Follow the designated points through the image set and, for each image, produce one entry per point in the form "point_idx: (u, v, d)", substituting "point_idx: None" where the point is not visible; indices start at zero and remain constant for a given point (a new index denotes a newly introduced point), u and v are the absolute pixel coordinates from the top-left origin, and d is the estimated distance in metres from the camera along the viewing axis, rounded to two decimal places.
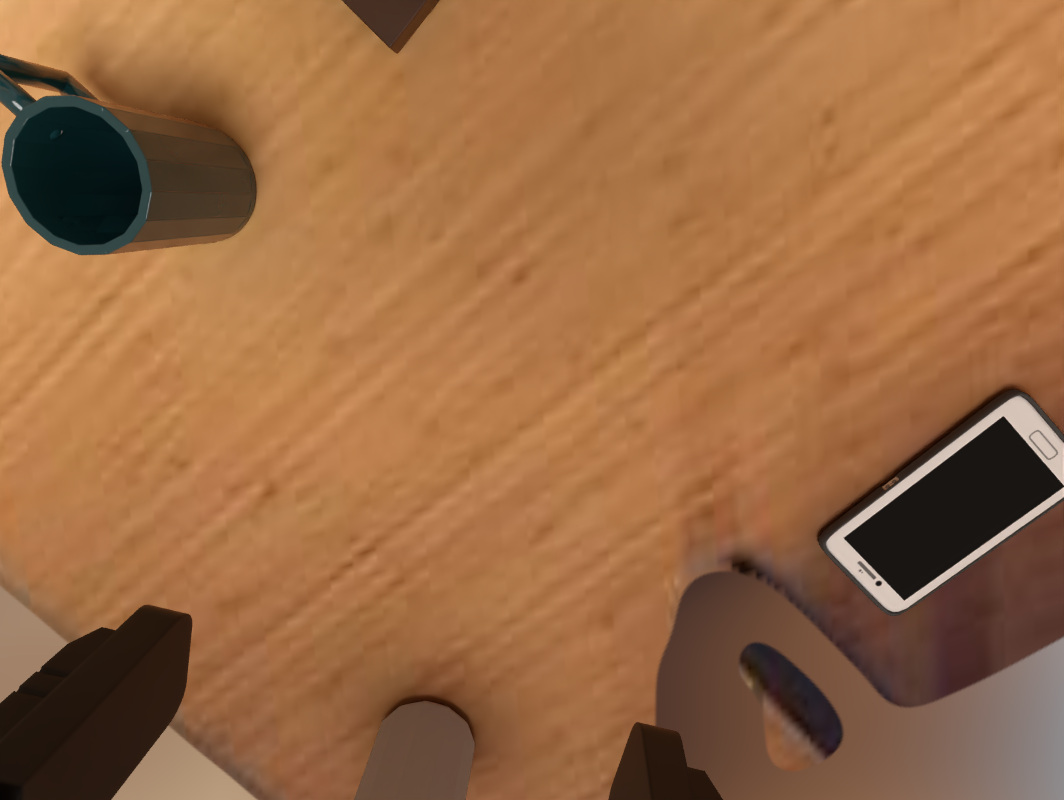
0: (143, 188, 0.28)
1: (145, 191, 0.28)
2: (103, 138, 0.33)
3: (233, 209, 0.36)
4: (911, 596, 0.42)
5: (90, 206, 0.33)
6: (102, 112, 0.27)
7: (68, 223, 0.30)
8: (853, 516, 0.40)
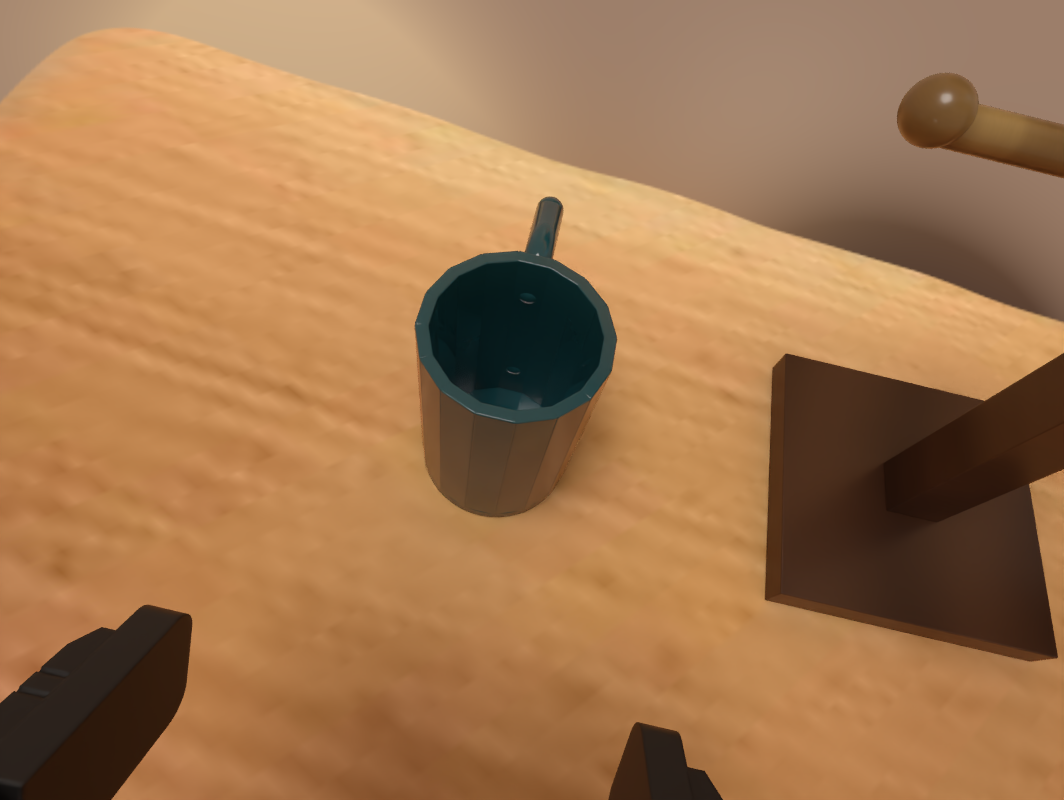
0: (554, 407, 0.20)
1: (552, 411, 0.20)
2: (522, 342, 0.27)
3: (507, 499, 0.27)
4: None
5: (446, 350, 0.25)
6: (610, 338, 0.22)
7: (435, 334, 0.23)
8: None
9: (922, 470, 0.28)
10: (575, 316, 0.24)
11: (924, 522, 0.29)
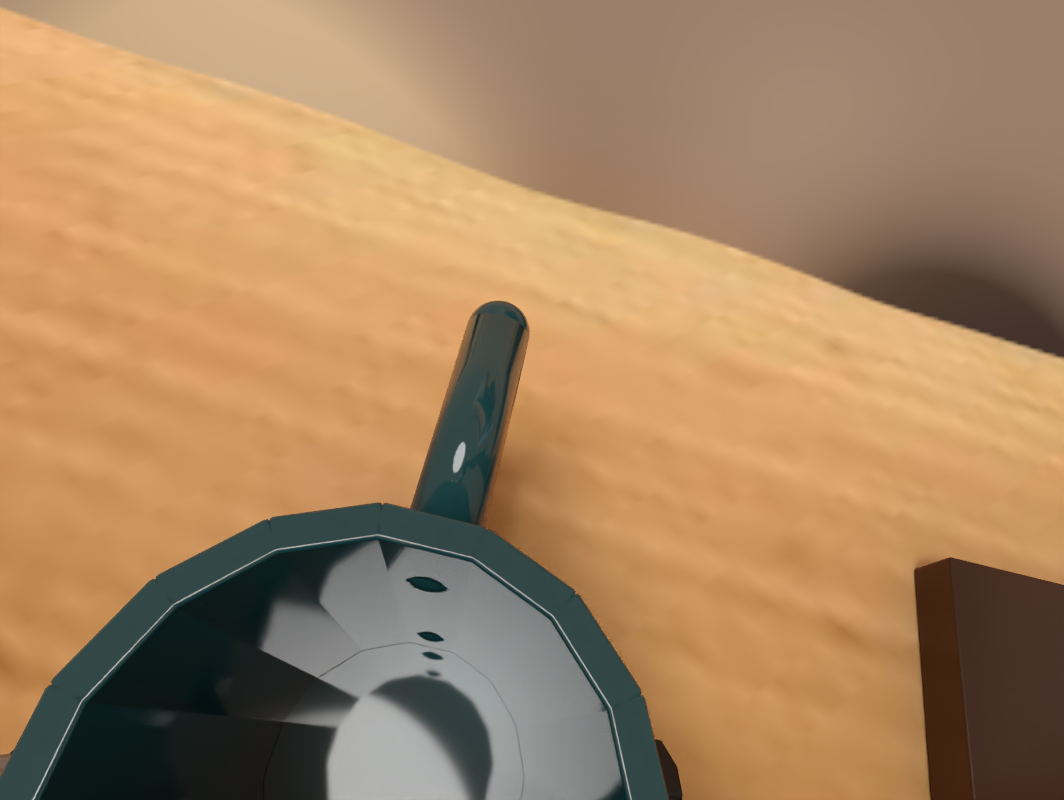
0: None
1: None
2: (436, 620, 0.12)
3: None
4: None
5: (234, 686, 0.10)
6: None
7: (132, 748, 0.08)
8: None
9: None
10: (548, 660, 0.09)
11: None
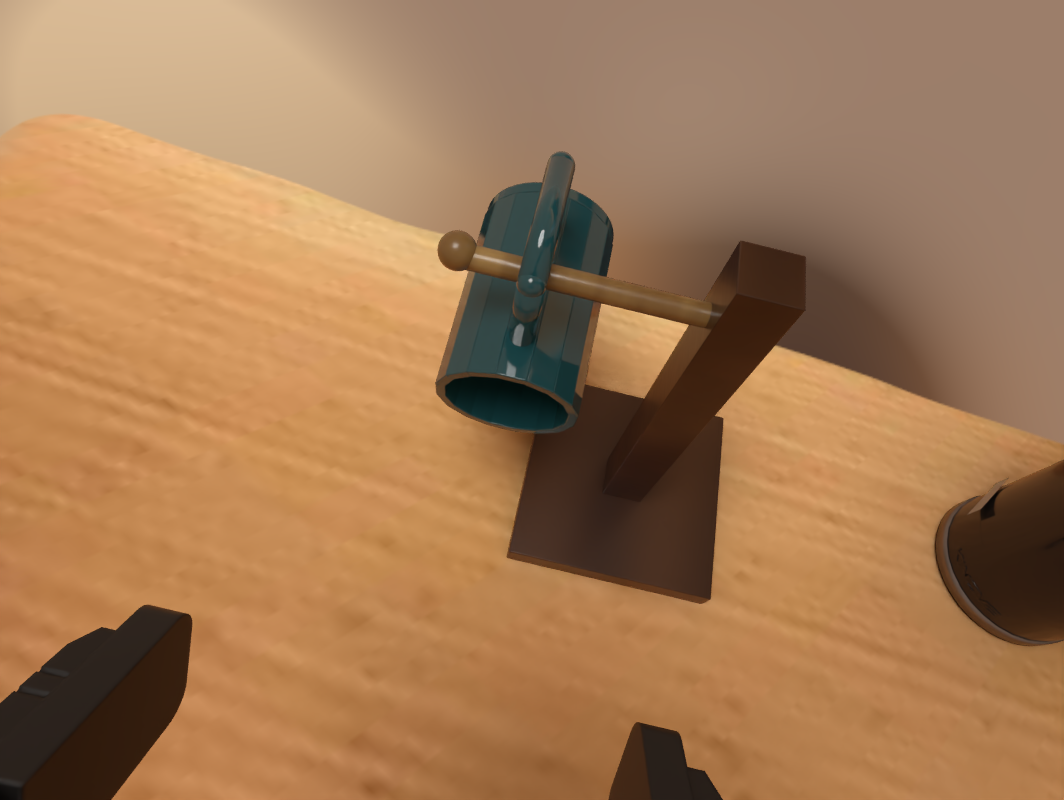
0: (536, 431, 0.32)
1: (535, 431, 0.32)
2: None
3: None
4: None
5: None
6: (572, 416, 0.29)
7: None
8: None
9: (614, 462, 0.38)
10: None
11: (630, 502, 0.40)
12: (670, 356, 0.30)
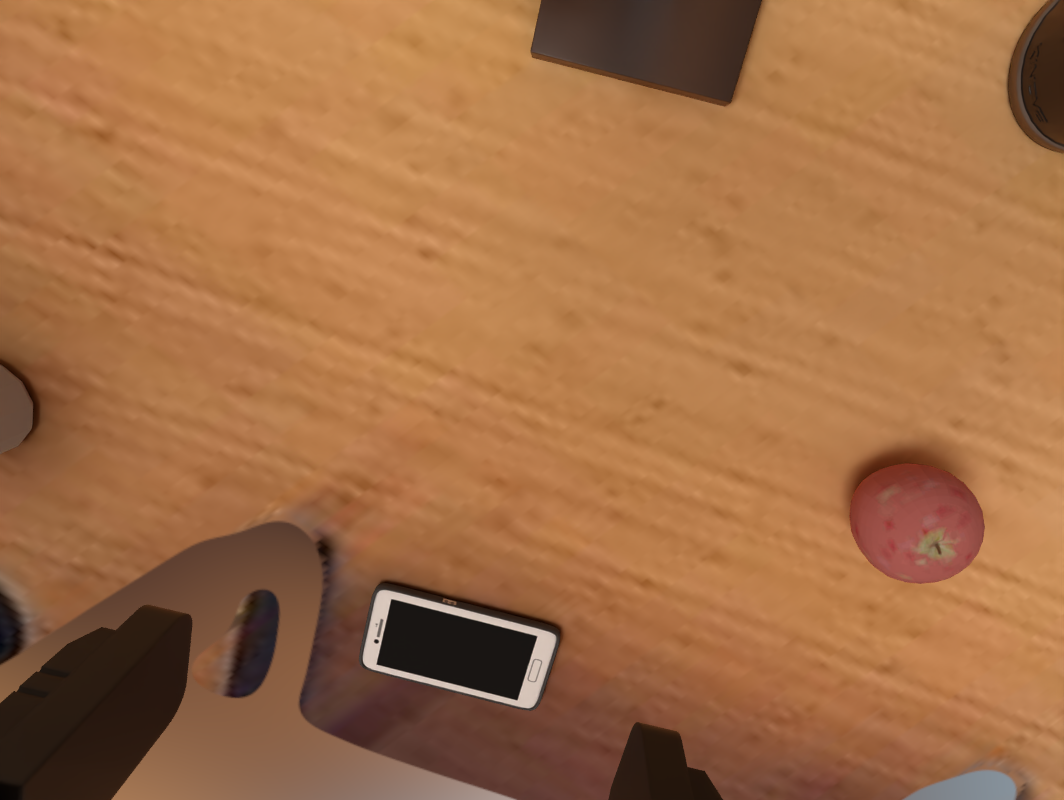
0: None
1: None
2: None
3: None
4: (382, 666, 0.51)
5: None
6: None
7: None
8: (410, 594, 0.49)
9: None
10: None
11: None
12: None
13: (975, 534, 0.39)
